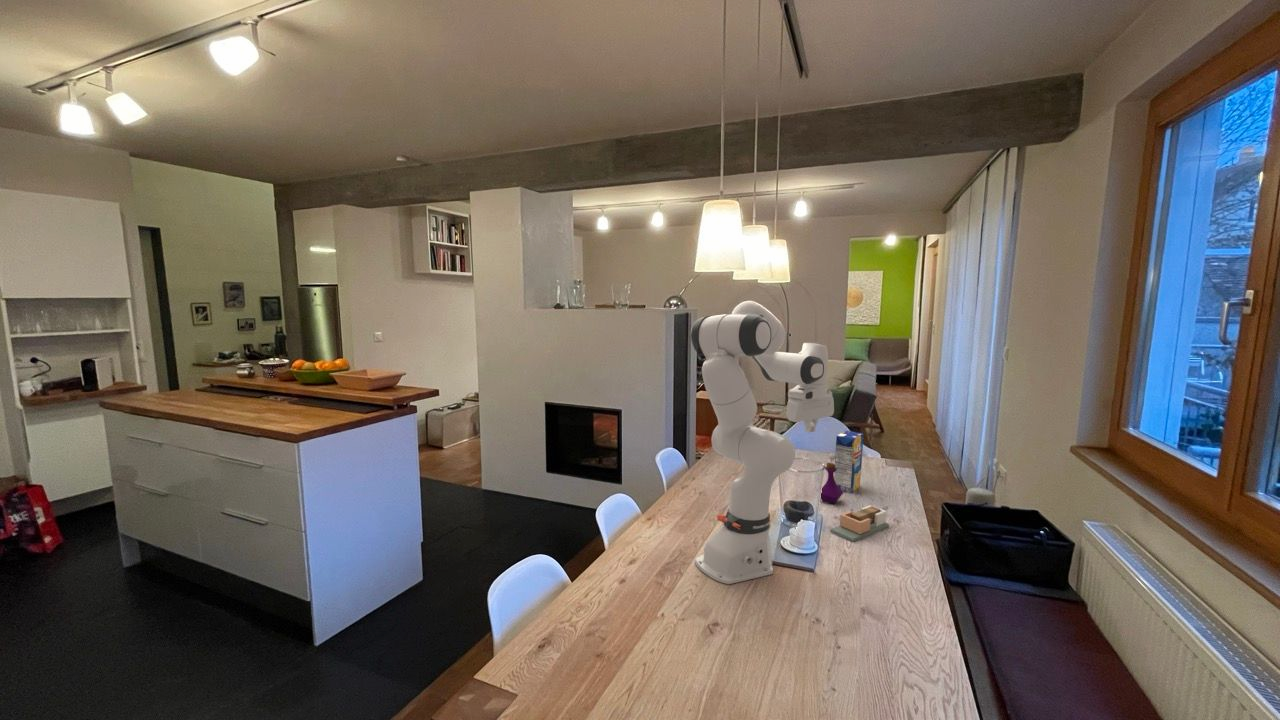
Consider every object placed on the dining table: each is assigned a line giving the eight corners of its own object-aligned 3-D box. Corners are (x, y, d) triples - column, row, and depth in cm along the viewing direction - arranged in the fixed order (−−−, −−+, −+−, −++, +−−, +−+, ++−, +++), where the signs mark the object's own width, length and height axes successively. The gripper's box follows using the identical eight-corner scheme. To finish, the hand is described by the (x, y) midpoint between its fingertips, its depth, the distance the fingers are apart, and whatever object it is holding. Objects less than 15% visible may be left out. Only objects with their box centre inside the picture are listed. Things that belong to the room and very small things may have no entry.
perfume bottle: (837, 506, 179) (840, 459, 177) (816, 501, 183) (819, 455, 181) (842, 500, 185) (845, 454, 182) (822, 495, 189) (825, 450, 187)
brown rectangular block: (858, 530, 157) (858, 517, 157) (849, 527, 160) (850, 514, 159) (879, 522, 164) (880, 509, 163) (870, 518, 166) (871, 506, 166)
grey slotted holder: (852, 542, 152) (853, 526, 151) (830, 531, 159) (831, 517, 158) (888, 526, 163) (889, 512, 162) (866, 517, 169) (867, 504, 169)
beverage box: (833, 489, 196) (836, 435, 193) (843, 481, 204) (846, 430, 202) (850, 493, 191) (854, 438, 189) (860, 486, 200) (863, 433, 197)
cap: (859, 534, 154) (860, 523, 154) (839, 525, 160) (840, 514, 160) (869, 530, 157) (870, 519, 157) (849, 521, 163) (850, 511, 163)
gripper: (824, 387, 170) (821, 425, 172) (784, 392, 159) (782, 433, 160) (840, 389, 165) (837, 429, 166) (800, 395, 154) (798, 438, 155)
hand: (810, 431), depth 163 cm, fingers closed
